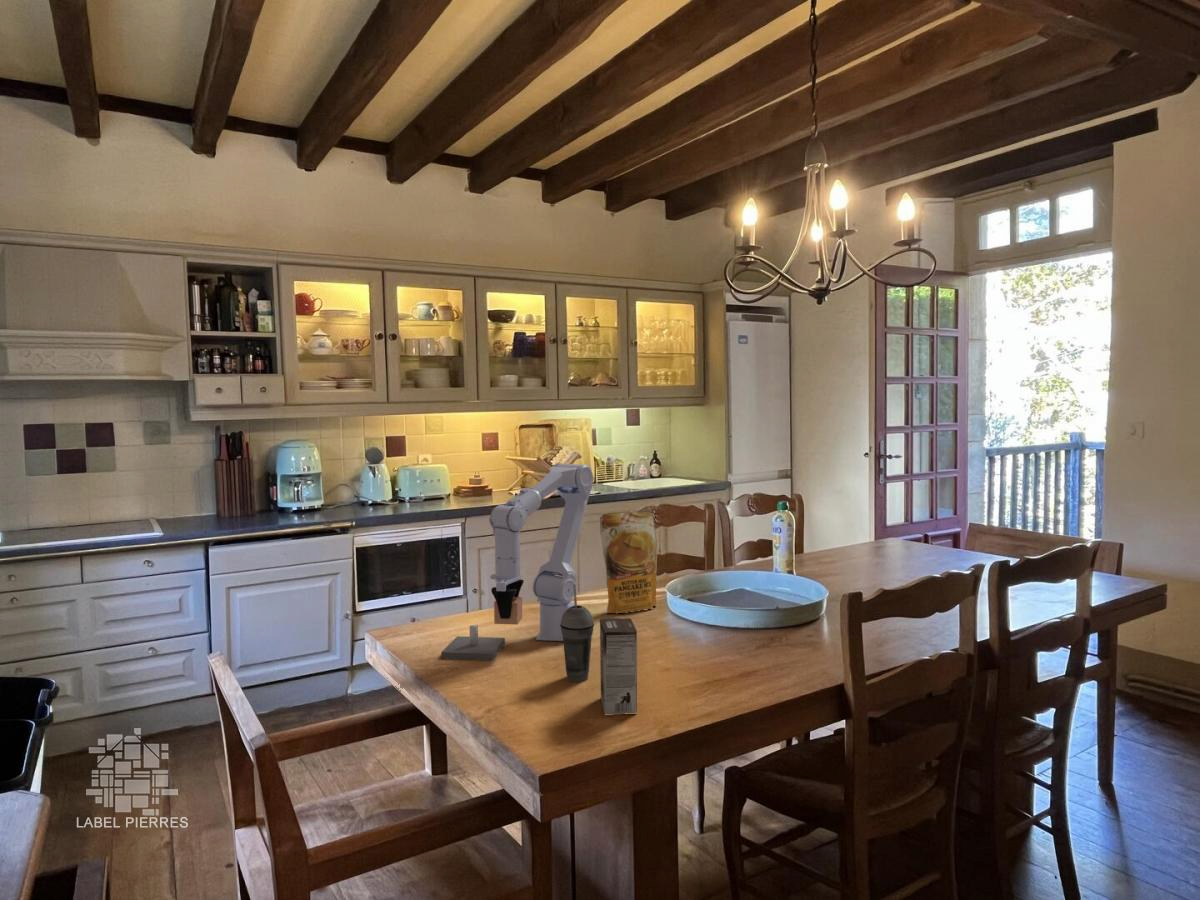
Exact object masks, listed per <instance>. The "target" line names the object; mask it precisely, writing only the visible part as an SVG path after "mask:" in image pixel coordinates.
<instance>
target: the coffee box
mask: <svg viewBox="0 0 1200 900" xmlns="http://www.w3.org/2000/svg"><path fill="white" fill-rule="evenodd" d="M599 635H600V636H599V639H600V641H599V642H600V643H599V644H600V645H599V646H600V647H599V648H600V649H599V653H600V657H599V659H600V662H599V663H600V700H601V703H602V704H601V705H602V709H604V710H603V713H604V715H605V714H625V713H636V712H637V710H638V705H637V704H638V700H637V698H638V696H637V695H638V693H637V692H638V678H637V677H638V631H637V629H636V627H635V624H634V622H633V620H632V618H631V617H628V618H620V617H619V618H618V617H607V618H606V617H605V618H599Z"/></svg>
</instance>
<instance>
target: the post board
mask: <svg viewBox="0 0 1200 900" xmlns="http://www.w3.org/2000/svg"><path fill="white" fill-rule="evenodd" d="M504 644H506V638H505V637H493V636H492V637H490V636H489V637H487V636H479V625H478V624H470V625H469V636H459V635H457V636H455V638H454V639H453V640H452V641H451V642H450V643H449V644H448V645H446V647H444V649H443V650H442V651H441V658H450V659H451V660H469V659H479V660H478V661H493V660H494V659H495V658H496V656H497V655H498V654H499V652H500V651H501V650H500V649H502V648H503V647H504V646H505V645H504ZM497 653H498V654H497ZM494 657H495V658H494ZM455 658H456V659H455ZM450 659H449V660H450Z"/></svg>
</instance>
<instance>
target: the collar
mask: <svg viewBox="0 0 1200 900" xmlns="http://www.w3.org/2000/svg"><path fill="white" fill-rule="evenodd" d="M493 603H494V604H493V606H494V607H493V608H494V609H493V613H494V616H493V619H494V625H519V623H520V622H521V620H522V619H523V597H522V596H518V597H514V598H513V602H512V610H511V616H510V618H509V619H501V618H500V614H499V610H498V606H497V602H496V600H495V601H494V602H493Z"/></svg>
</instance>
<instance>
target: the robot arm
mask: <svg viewBox="0 0 1200 900" xmlns="http://www.w3.org/2000/svg"><path fill="white" fill-rule="evenodd" d="M594 481H595V477H594V475H593V472H592V468H591V467H590V466H589V464H584V463H582V464H575V463H574V464H573V463H562V462H557V463H554V464H553V466H551V467H549V470H548V473H547V474H546V475H545V476H544V477H543V478H542V479H541V480H540V481H538V483H536V484H535V485H534V487H532V488H530V487H526V488H521V489H520V490H519V493H517V494H516V495H515V496H513V497H512V498H509V499H508V500H507V501H506V503H505V504H499V505H497V506H496V507H494V508H493V509H492V510H491V514H490V517H489V518H488V522H489V525H490V527H491V528H492V535H493V537H494V550H495V551H494V552H495V553H494V554H495V555H494V557H495V559H494V560H495V562H494V563H495V568H494V569H495V574H491V575H490V576H489V577H490V580H494V581H495V586H494V587H492V588H491V594H492V595H493V597H494V599H495V601H496V602H497V606H498V610H499V614H500V618H501V619H509V618H510V616H511V610H512V602H513V598H514V597H520V596H519V595H520V592H521V589H522V586H523V585H524V579H522V574H521V544H520V543H521V539H520V538H521V534H520V533H521V530H522V529H523V528H524V526H525V523H526V521H527V520H528V518H529V516H530V517H531V515H532V514H533V513H534V512H535V511H537V510H538V509H539V508H540V507H541V505H542V500H543V499H545V498H546V497H547V496H549V495H550V494H552V493H553V492H555V491H557V493H558V494H559V495H560V497H562V498H563V499H564V502H565V506H564V508H563V511H562V515H561V518H560V522H559V526H558V530H557V533H556V536H555V540H554V544H553V547H552V550H551V555H550V558H549V561H547V562H545V563H543V564H542V565H541V566H540V568H539V571H538V572H537V575H536V576H535V578H534V580H533V582H532V592H533V595H534V596H535V597H536V598H537V602H539V632H538V634H537V636H536V637H535V640H536V641H550V642H552V641H553V642H563V635H562V631H561V627H560V624H561V619H562V616H563V614H564V612H565V611H566V610H567V609H568V608H570V607H572V606H575V604H574V601H572V600H573V599H574V586H573V585H574V584H576V581H577V580H576V579H577V576H578V575H577V574H576V573H575V571H574V570H573V568H572V567H571V565H572V564H571V563H572V560H573V557H574V553H575V549H576V545H577V542H578V538H579V535H580V531H581V527H582V523H583V519H584V517H585V513H586V510H587V505H588V501H589V499H590V494H591V492H592V491H591V490H592V488H593V483H594Z"/></svg>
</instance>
